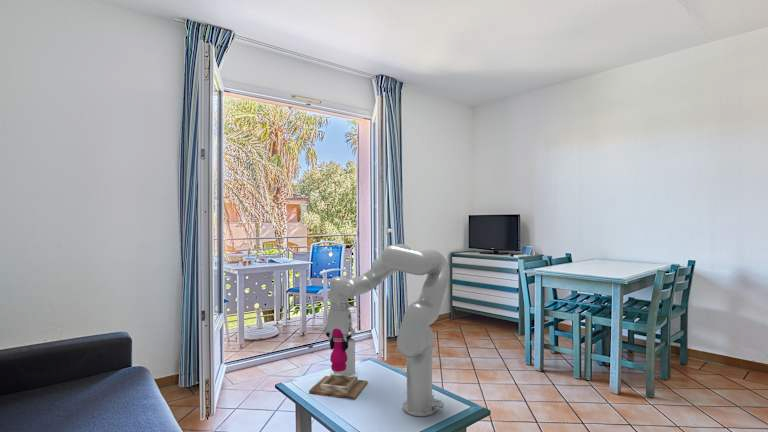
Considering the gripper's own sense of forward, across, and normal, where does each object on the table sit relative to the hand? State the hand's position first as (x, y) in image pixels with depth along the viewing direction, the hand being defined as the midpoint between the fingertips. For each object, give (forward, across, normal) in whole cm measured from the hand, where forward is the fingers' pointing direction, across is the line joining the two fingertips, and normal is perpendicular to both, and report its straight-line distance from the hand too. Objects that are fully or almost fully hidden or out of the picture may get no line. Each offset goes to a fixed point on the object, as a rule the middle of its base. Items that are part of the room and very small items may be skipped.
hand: (338, 348), depth 166 cm
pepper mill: (+9, 0, 0) cm, 9 cm away
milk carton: (+17, +4, -16) cm, 24 cm away
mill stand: (+17, 0, 0) cm, 17 cm away
